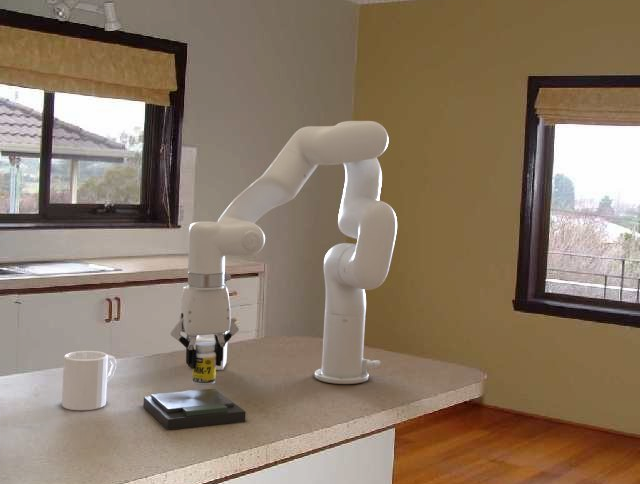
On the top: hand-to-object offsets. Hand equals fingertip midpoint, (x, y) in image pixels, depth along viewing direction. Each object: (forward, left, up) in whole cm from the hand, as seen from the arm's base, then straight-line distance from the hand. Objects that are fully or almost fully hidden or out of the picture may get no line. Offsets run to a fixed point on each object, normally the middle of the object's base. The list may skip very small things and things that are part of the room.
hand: (204, 365), depth 186 cm
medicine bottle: (-9, -22, -6) cm, 25 cm away
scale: (+7, +14, -6) cm, 17 cm away
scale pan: (+7, +13, -4) cm, 15 cm away
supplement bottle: (0, 0, -4) cm, 4 cm away
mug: (+23, 0, -6) cm, 24 cm away
